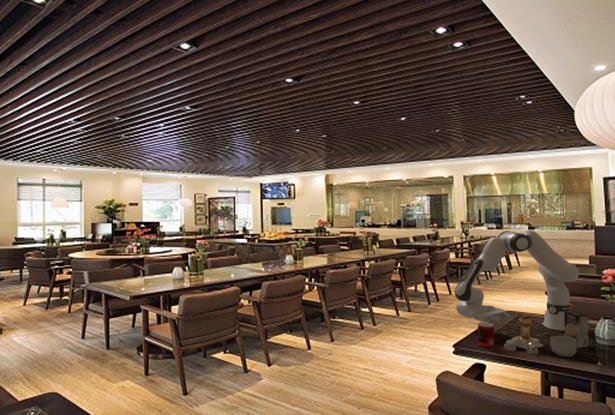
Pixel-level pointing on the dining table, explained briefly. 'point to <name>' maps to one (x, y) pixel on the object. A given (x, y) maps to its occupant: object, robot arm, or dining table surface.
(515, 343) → the coupling seat
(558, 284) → the robot arm
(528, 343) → the shaft
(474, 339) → the dining table surface
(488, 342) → the canned food
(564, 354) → the teacup
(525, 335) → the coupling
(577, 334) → the coffee box
